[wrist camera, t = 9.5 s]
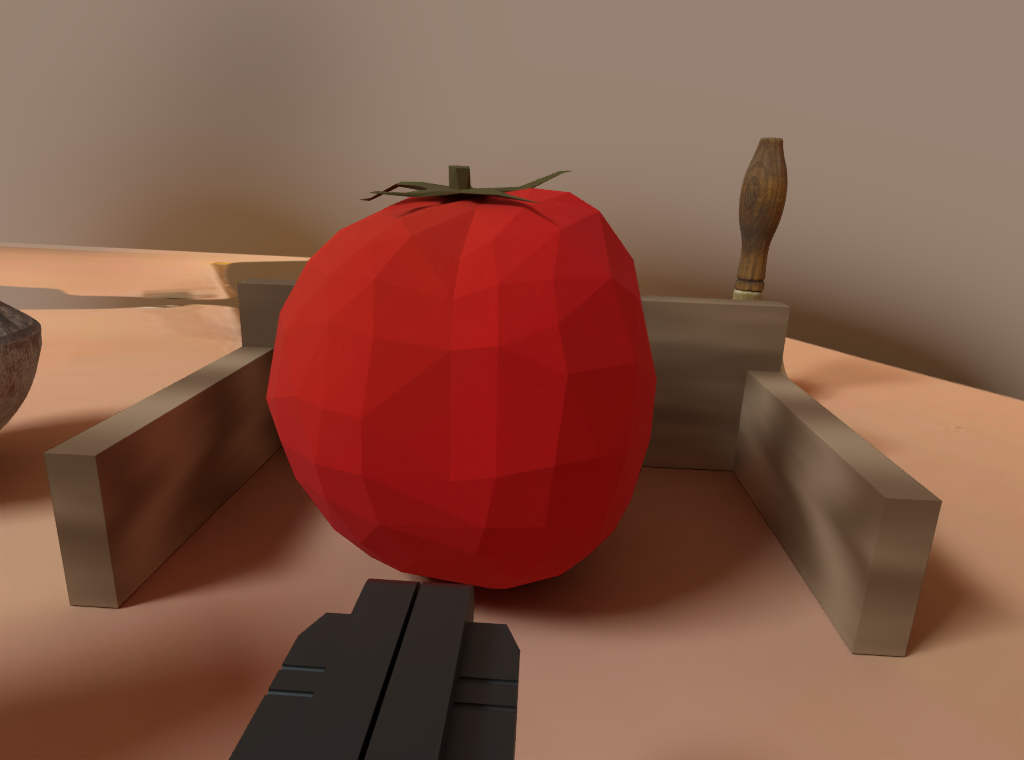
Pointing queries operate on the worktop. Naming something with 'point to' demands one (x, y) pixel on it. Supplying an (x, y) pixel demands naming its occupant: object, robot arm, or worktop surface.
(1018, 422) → the worktop surface
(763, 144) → the hand bell
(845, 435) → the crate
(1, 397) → the pottery
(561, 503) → the tomato
